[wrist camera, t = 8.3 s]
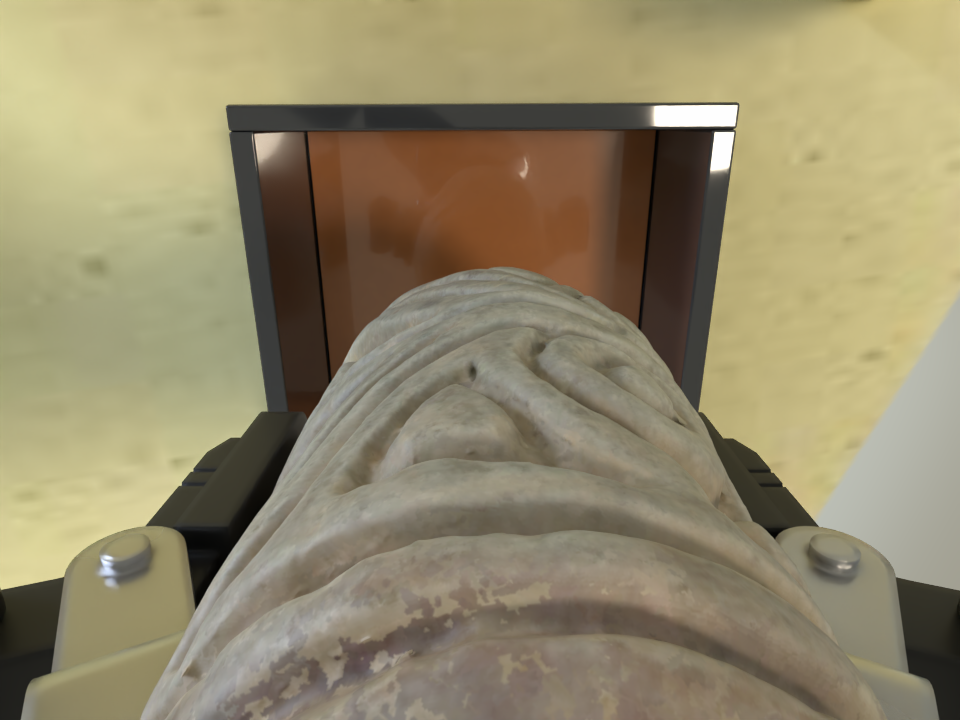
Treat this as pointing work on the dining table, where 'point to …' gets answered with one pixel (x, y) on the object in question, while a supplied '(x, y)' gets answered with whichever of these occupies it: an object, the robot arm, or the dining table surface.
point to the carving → (506, 541)
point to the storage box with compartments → (476, 217)
